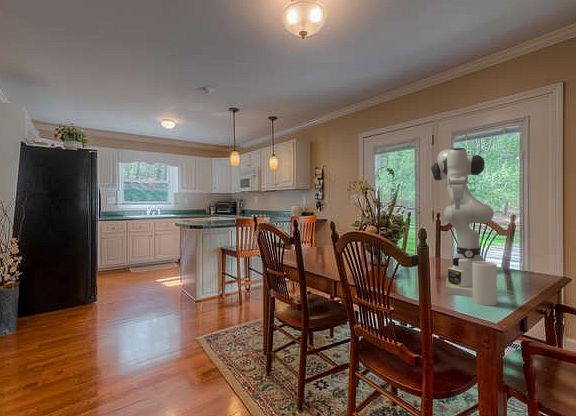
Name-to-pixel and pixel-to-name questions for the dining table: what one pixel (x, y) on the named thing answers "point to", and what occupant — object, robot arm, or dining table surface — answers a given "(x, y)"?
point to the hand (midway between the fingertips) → (457, 209)
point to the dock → (458, 289)
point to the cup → (485, 283)
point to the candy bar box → (390, 267)
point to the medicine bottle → (460, 273)
